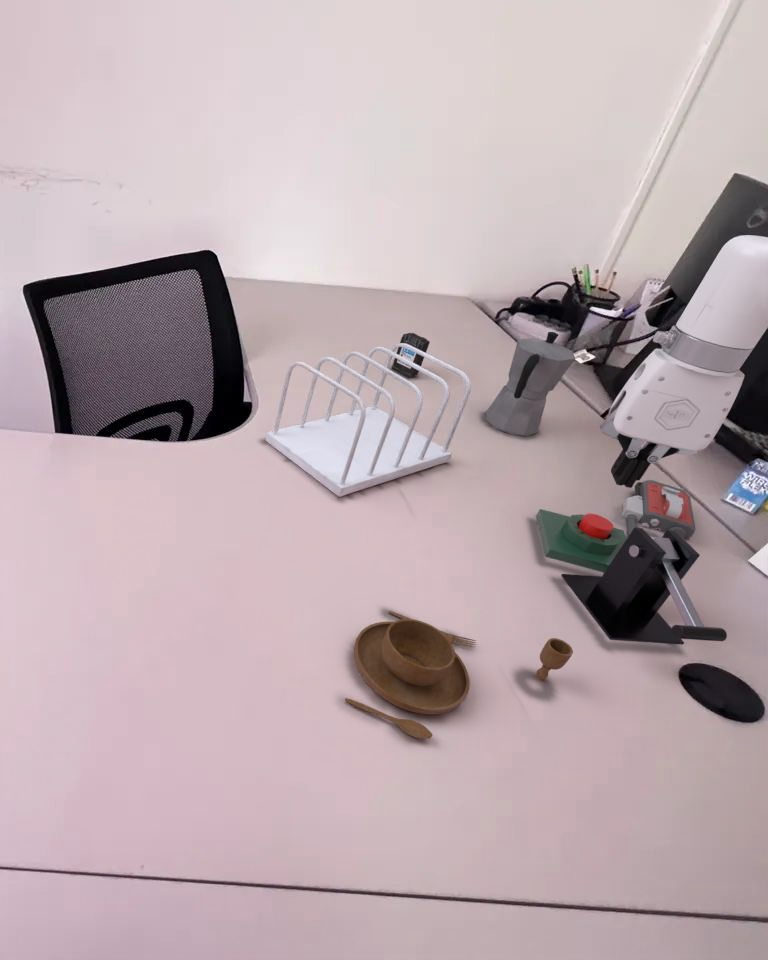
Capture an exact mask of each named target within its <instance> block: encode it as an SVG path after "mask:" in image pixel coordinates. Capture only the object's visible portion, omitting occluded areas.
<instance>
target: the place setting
mask: <svg viewBox="0 0 768 960" xmlns="http://www.w3.org/2000/svg"><path fill="white" fill-rule="evenodd" d="M388 614H390V615H392V616H395V617H397V618H399V619H397V620H394V621H391V620H390V621H389V620H388V621H379V622H375V623H371V624H369V625H367V626H366V627H364V628H363V629H362V630H361V631H360V632H359V633H358V634H357V637H356V639H355V642H354V646H353V659H354V663H355V665H356V668H357V671H358V673H359V674H360V676H361V677H362V679H363V681H364V682H365V683H366V684H367V686H369V688H371V689H372V690H373V691H374V692H375V693H376V695H378V696H380V697H381V698H382V699H383V700H385V701H387V702H388V703H390V704H392V705H394V706H396V707H398V708H400V709H402V710H406V711H408V712H412V713H416V714H420V715H421V714H422V715H439V714H445V713H447V712H451V711H452V710H454V709H456V708H458V707H459V706H460V705H461V704H462V703H463V702H464V701H465V699H466V698H467V696H468V695H469V691H470V687H471V681H470V675H469V671H468V670H467V667H466V665H465V664H464V662H463V660H462V658H461V657H460V656H459V654H458V653H456V651H455V648H454V645H453V644H456V645H460V646H465V647H470V648H475V646H476V642H477V640H475V639H473V638H467V637H463V636H460V635H456V634H451V633H447V632H445V631H443V630H440V629H438V628H436V627H435V626H433V625H432V624H429V623H427V622H424V621H421V620H419V619H413V618H410V617H407V616H405V615H402V614H399V613H397V612H394V611H391V610H389V611H388ZM573 653H574V650H573V648H572V646H571V645H570V644H568V642H566V641H565V640H563V639H560V638H558V637H557V638H556V637H551V638H549V639H548V640H547V641H546V643H545V644H544V646H543V648H542V649H541V651H540V653H539V660H540V662H541V664H542V665H541V667H540V668H538V669H537V670H536V676H535V678H536V680H538V681H540V682H543V680H545V679H547V678H548V677H549V672H550V671H551V670H554V671H556V670H560V669H562V668H563V667H564V666H565V665H566V664H567V663H568V661H569V660H570V658H571V657H572V656H573ZM344 701H345V702H346V703H348V704H350V705H352V706H354V707H357V708H359V709H361V710H364V711H365V712H369V713H371V714H373V715H377V716H379V717H381V718H384V719H386V720H388V721H390V722H393V723H394V724H395V725H397V726H398V727H399V728H400V729H401V731H403V732H404V733H406V734H407V735H409V736H410V737H412V738H413V737H414V738H417V739H421V740H429V739H431V738H432V737H433V734H432V731H430V730H429V728H427V727H426V726H425V725H423V724H422V723H420V722H418V721H416V720H414V719H413V720H412V719H407V718H399V717H395V716H391V715H390V714H387V713H384V712H383V711H380V710H378V709H375V708H373V707H371V706H369V705H367V704H364V703H362V702H359V701H356V700H354V699H350V698H348V697H346V698H344Z"/></svg>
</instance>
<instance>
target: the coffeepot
mask: <svg viewBox="0 0 768 960" xmlns="http://www.w3.org/2000/svg"><path fill="white" fill-rule="evenodd" d="M557 338H559V333H557V332H555V331H548V332H547V336H546V339H540V338H536V337H535V338H534V337H527V338H521V339H520V338H519V339H517V342H516V345H515V349H514V353H513V357H512V361H511V364H510V368H509V371H508V381H507V383H506V385H503V387H502V388H501V390H500V391H499V392H498V394H497V395H496V397H495V398H494V400H493V401H492V403H491V404H490V406H489V407H488V409H487V410H486V411H485V420H486V422H487V423H488V424H489V425H490V426H492V427H493V428H494V429H497V430H498V431H501V432H503V433H506V434H509V435H514V436H520V437H530V436H534V434H537V433H539V428H540V425H541V422H542V419H543V418H542V417H543V414H544V410H545V406H546V404H547V396H548V394H549V392H551V391H554V390H555V388H556V386H557V385H558V384H559V382H560V381H561V379H562V378H563V377H564V375H565V374H566V373H567V371H568V370H569V368H570V367H571V366H572V364H573V363H574V361H576V357H575V354H574V351H573V350H571V349H570V348H567V347H565V346H563V345H562V343H561V342H556V340H557Z"/></svg>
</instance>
